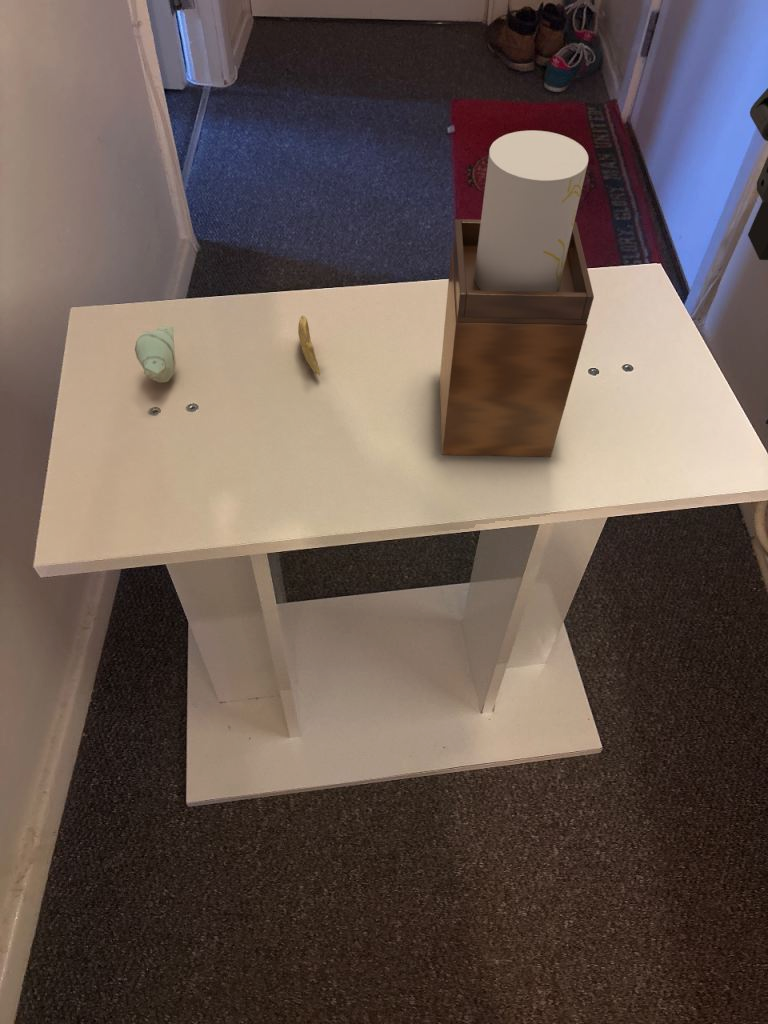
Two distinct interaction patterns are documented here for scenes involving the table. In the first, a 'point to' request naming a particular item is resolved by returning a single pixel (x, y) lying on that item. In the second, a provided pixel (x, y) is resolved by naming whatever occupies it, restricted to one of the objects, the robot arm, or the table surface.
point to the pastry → (307, 344)
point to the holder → (519, 305)
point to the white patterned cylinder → (528, 211)
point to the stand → (504, 383)
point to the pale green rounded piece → (157, 353)
